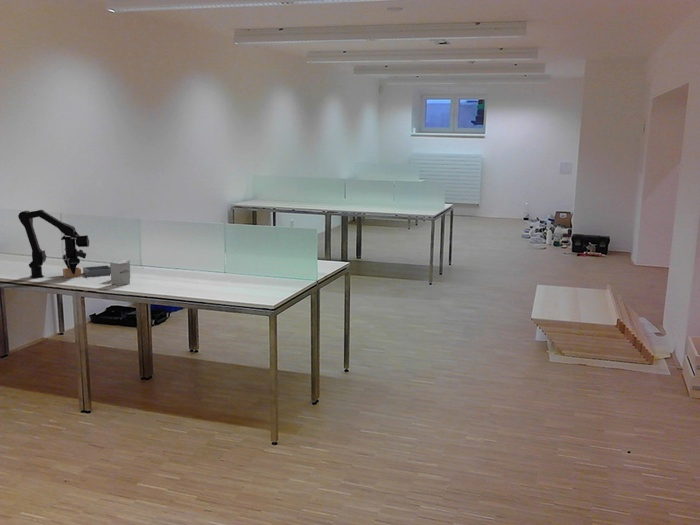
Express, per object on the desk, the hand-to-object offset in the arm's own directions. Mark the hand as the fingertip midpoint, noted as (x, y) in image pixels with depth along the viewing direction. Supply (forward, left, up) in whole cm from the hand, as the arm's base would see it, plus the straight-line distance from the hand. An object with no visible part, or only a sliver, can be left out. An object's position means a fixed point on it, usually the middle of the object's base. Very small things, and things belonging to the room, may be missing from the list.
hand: (72, 272), depth 375 cm
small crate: (0, 0, -2) cm, 2 cm away
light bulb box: (+24, +22, -2) cm, 33 cm away
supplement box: (+39, +18, -2) cm, 43 cm away
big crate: (0, +15, -2) cm, 15 cm away
